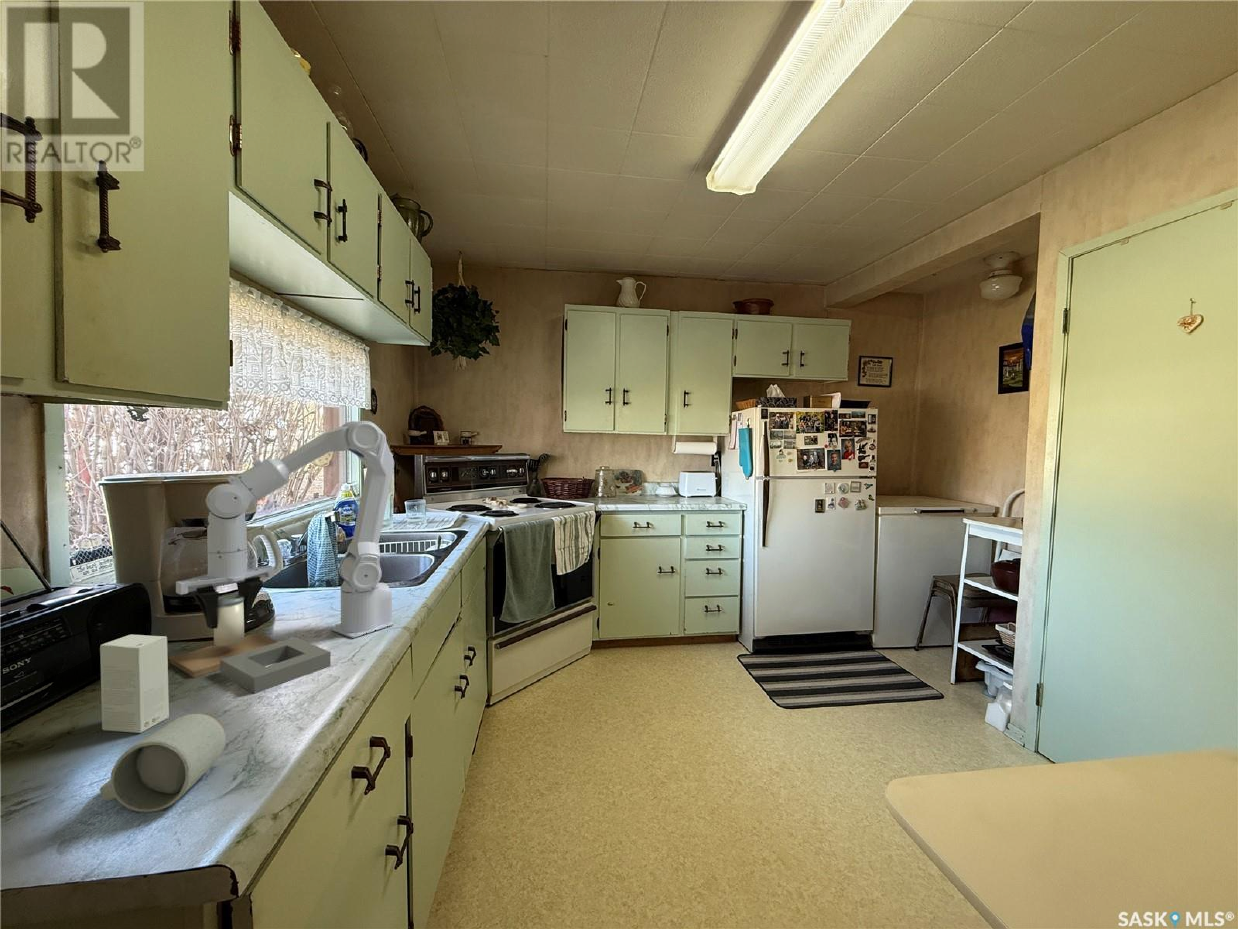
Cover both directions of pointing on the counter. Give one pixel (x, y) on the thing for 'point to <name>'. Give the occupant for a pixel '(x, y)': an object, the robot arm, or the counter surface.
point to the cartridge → (229, 620)
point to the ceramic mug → (166, 763)
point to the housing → (258, 678)
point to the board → (216, 655)
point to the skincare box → (134, 683)
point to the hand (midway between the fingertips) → (228, 623)
